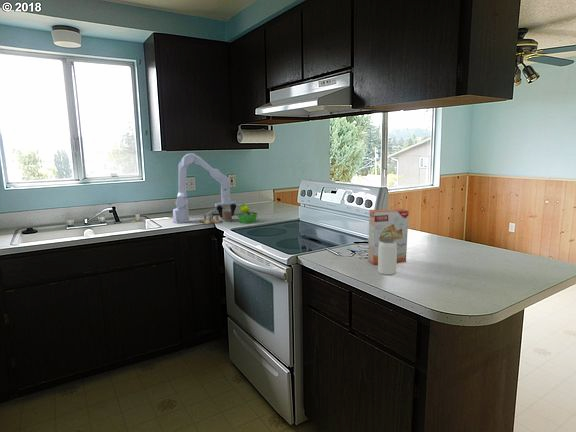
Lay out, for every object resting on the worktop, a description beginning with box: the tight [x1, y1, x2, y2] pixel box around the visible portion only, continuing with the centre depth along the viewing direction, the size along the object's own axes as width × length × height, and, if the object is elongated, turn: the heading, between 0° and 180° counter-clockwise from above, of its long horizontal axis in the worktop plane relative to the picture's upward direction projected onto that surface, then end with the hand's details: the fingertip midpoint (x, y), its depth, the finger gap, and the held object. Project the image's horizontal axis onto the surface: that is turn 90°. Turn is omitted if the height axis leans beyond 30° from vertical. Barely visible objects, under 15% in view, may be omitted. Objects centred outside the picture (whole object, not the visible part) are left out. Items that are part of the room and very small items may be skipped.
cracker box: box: [367, 208, 409, 265], centre depth 150 cm, size 14×6×21 cm, turn 100°
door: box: [221, 209, 233, 222], centre depth 245 cm, size 2×10×6 cm, turn 33°
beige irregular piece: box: [199, 213, 223, 225], centre depth 242 cm, size 10×12×4 cm
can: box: [377, 239, 397, 276], centre depth 138 cm, size 6×6×12 cm
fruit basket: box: [237, 203, 258, 224], centre depth 238 cm, size 11×9×11 cm
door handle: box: [205, 198, 234, 216], centre depth 271 cm, size 18×8×20 cm
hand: (226, 216), depth 245 cm, fingers open, 7 cm apart
